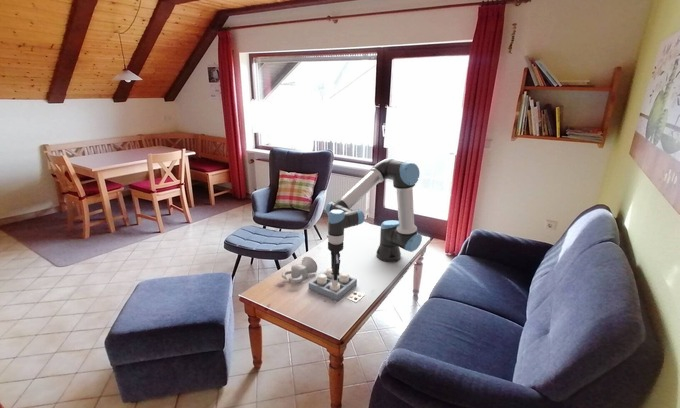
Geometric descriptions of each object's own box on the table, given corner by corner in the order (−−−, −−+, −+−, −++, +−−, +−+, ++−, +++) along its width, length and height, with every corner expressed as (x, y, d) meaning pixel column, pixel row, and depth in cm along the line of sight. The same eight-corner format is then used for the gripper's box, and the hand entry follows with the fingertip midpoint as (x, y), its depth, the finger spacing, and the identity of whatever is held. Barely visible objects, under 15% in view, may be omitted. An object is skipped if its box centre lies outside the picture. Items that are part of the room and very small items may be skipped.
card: (354, 291, 176) (354, 290, 175) (364, 295, 172) (364, 294, 172) (346, 298, 169) (346, 297, 169) (356, 302, 166) (356, 301, 166)
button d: (330, 273, 186) (330, 266, 185) (337, 276, 183) (338, 269, 182) (324, 277, 182) (324, 270, 181) (332, 280, 179) (332, 273, 178)
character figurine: (302, 266, 199) (278, 282, 183) (301, 252, 196) (278, 267, 180) (320, 273, 192) (297, 290, 176) (320, 258, 189) (296, 275, 173)
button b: (320, 279, 180) (320, 272, 178) (328, 282, 177) (328, 276, 176) (314, 283, 176) (314, 277, 174) (322, 287, 173) (322, 280, 172)
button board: (329, 275, 190) (329, 268, 189) (356, 285, 181) (356, 279, 179) (308, 289, 176) (308, 282, 175) (337, 301, 166) (337, 294, 165)
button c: (342, 277, 182) (342, 271, 180) (350, 281, 179) (351, 274, 178) (337, 282, 178) (337, 275, 176) (345, 285, 175) (345, 278, 174)
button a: (333, 287, 176) (333, 280, 175) (341, 291, 173) (342, 284, 172) (327, 292, 172) (327, 285, 170) (336, 295, 169) (336, 288, 168)
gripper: (326, 236, 169) (325, 278, 176) (330, 247, 157) (329, 292, 164) (340, 235, 170) (339, 277, 178) (346, 246, 158) (344, 291, 166)
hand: (334, 284), depth 171 cm, fingers closed
